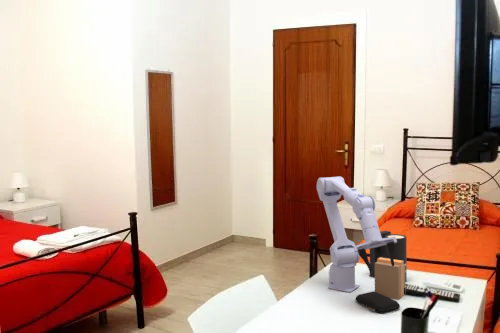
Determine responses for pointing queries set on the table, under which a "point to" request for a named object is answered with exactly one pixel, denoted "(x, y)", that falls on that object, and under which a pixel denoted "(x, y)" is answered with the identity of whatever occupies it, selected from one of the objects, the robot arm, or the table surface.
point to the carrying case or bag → (377, 302)
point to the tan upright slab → (390, 278)
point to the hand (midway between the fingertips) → (381, 268)
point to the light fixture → (382, 252)
